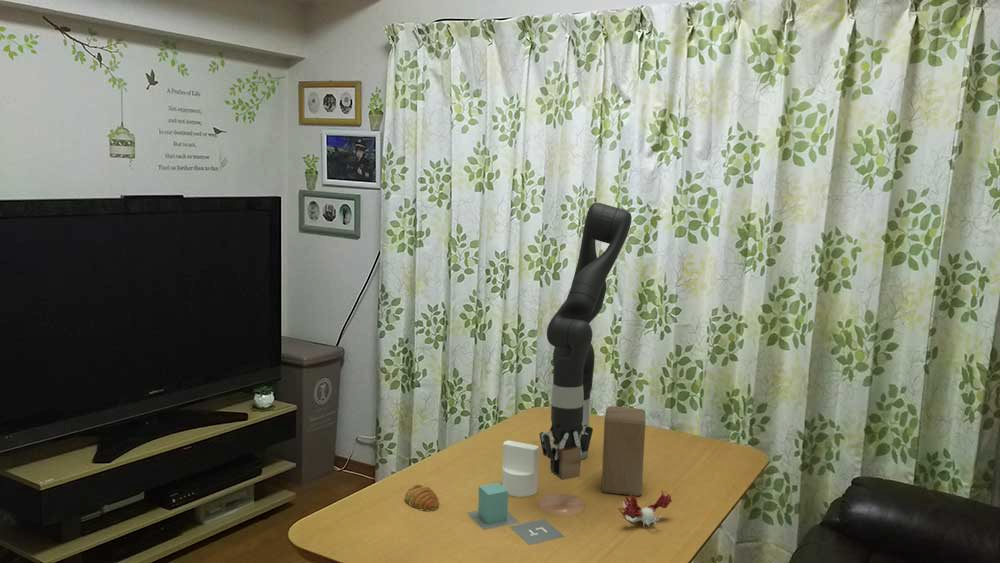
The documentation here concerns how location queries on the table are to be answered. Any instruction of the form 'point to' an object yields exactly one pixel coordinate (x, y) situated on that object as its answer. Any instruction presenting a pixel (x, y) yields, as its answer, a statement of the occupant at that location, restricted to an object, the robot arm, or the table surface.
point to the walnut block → (569, 462)
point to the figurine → (644, 509)
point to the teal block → (493, 503)
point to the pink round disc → (561, 504)
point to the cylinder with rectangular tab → (520, 468)
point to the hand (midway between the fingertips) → (565, 470)
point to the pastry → (422, 498)
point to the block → (623, 450)
